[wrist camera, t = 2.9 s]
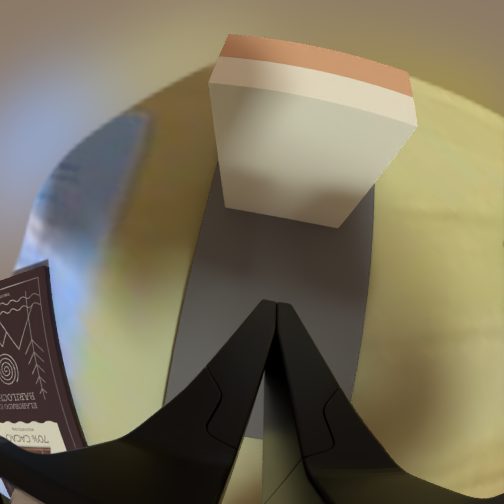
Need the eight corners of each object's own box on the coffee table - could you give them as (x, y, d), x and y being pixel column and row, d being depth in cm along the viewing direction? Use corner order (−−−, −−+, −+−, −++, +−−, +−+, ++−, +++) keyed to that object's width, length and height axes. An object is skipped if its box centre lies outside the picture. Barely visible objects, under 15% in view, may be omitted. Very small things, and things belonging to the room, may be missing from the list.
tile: (338, 228, 16) (417, 126, 8) (225, 207, 16) (208, 82, 8) (341, 187, 17) (407, 72, 8) (234, 166, 17) (228, 34, 8)
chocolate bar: (44, 265, 15) (131, 547, 11) (52, 269, 16) (135, 540, 12) (-41, 295, 15) (28, 531, 10) (-32, 297, 16) (34, 526, 11)
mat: (337, 443, 14) (339, 446, 13) (164, 416, 14) (162, 418, 14) (371, 129, 19) (373, 124, 18) (236, 101, 19) (236, 97, 18)
